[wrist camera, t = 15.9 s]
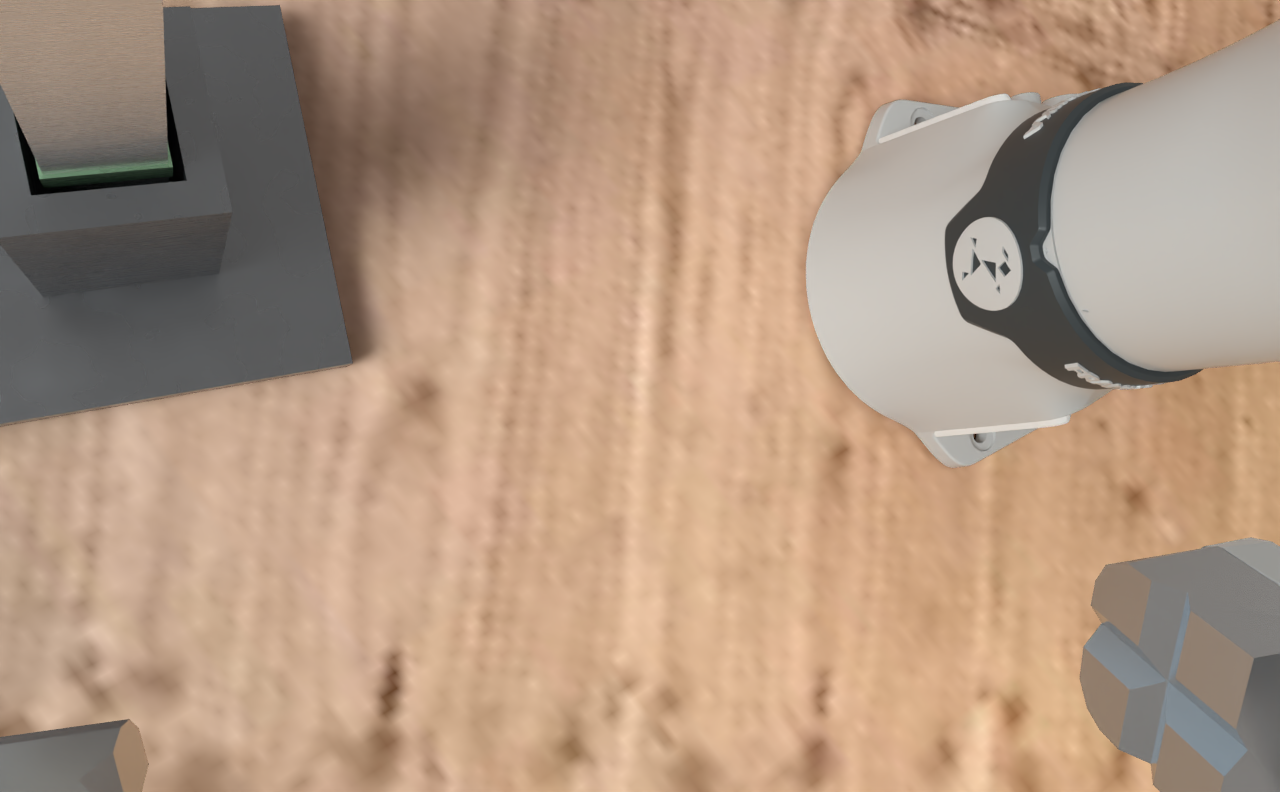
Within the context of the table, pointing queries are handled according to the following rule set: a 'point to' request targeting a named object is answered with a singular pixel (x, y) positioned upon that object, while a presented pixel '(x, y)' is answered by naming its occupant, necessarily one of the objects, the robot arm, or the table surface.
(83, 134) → the column
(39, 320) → the stand
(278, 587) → the table surface
